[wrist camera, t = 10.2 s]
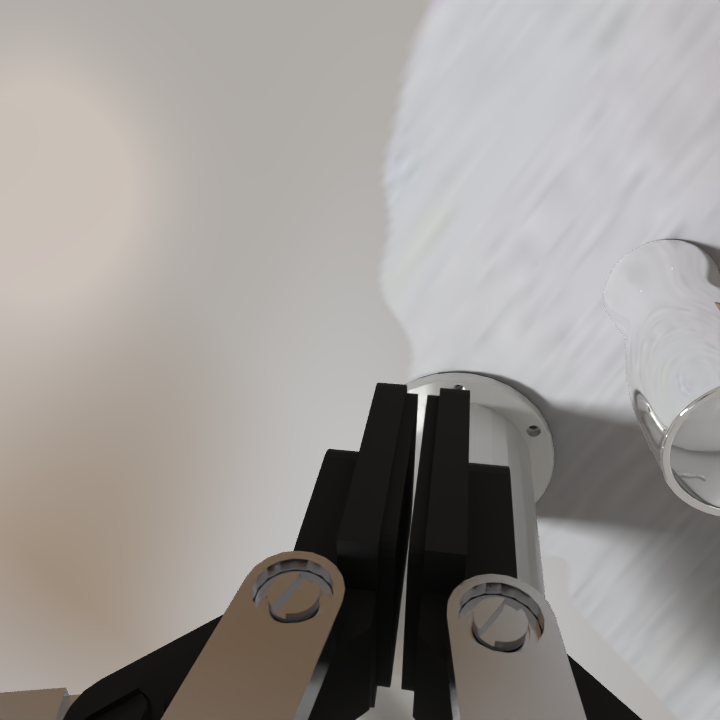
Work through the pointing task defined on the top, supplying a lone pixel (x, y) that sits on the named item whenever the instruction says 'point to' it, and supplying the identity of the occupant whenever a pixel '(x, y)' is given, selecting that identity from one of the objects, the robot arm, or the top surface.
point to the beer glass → (673, 360)
